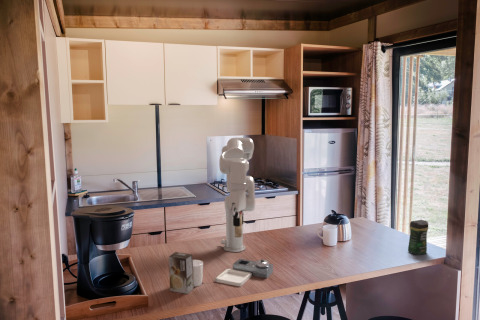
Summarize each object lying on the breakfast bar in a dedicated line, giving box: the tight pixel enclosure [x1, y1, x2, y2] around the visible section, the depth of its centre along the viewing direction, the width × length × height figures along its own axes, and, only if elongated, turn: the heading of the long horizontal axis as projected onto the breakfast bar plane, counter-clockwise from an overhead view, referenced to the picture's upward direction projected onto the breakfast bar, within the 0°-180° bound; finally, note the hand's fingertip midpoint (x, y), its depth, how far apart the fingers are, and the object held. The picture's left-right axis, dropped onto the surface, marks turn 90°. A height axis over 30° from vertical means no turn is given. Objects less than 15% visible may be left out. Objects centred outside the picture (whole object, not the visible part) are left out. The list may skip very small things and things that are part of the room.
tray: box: [214, 268, 253, 288], centre depth 191 cm, size 13×13×2 cm
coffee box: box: [168, 251, 194, 295], centre depth 180 cm, size 9×6×16 cm
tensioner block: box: [232, 258, 274, 279], centre depth 198 cm, size 18×8×8 cm, turn 65°
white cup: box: [193, 259, 204, 288], centre depth 187 cm, size 8×8×10 cm
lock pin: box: [235, 211, 242, 238], centre depth 192 cm, size 3×3×12 cm
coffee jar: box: [407, 219, 429, 255], centre depth 227 cm, size 10×8×19 cm
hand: (238, 224), depth 192 cm, fingers closed on lock pin, 3 cm apart
